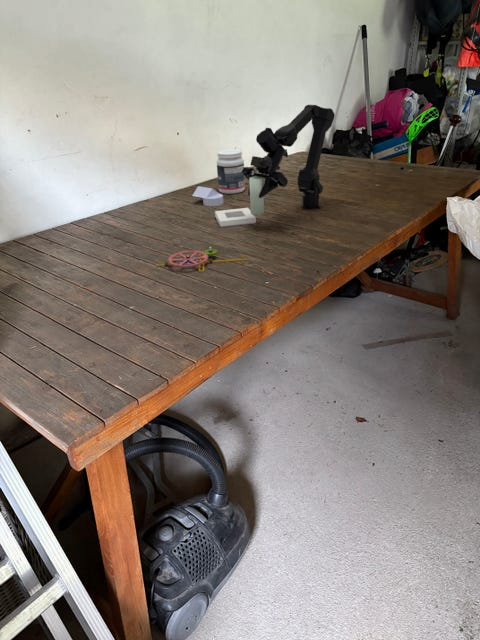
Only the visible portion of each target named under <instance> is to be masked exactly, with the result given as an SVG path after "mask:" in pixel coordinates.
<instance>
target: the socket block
mask: <svg viewBox="0 0 480 640" xmlns="http://www.w3.org/2000/svg"><path fill="white" fill-rule="evenodd" d="M214 216H215V220H216V222H217V223H218V225H219V227H220V228H228V227H236V226H244V225H245V226H247V225H253V224H254V225H255V224H256V223H257V222H256V221H257V218H256V215H253V214H251V208H250V207H243V208H242V207H241V208H235V209H234V208H233V209H225V210H224V209H223V210H215V211H214Z"/></svg>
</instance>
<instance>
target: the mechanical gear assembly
mask: <svg viewBox="0 0 480 640" xmlns="http://www.w3.org/2000/svg"><path fill="white" fill-rule="evenodd" d="M218 253H219V252H218V250H217V249H212V246H209V248H208V249H206V250H204V251H200V250H183V251H180V252H177V253H176V252H175V253H174V254H172V255H169V257H168V258H167V261H165V262H164V263H160V264H155V267H171V266H172V267H174V268H181V269H182V268H183V269H184V268H186V269H187V268H194V267H198V272H199V273H204V272H205V265H206V264H215V263H227V262H229V263H230V262H241V261H242V262H243V261H246V262H247V261H248V258H237V259H236V258H235V259H223V260H222V259H219V260H218V259H217V260H213V258H209V257H213V256H216V255H217V254H218ZM185 254H187V255H185ZM188 254H191V255H188ZM197 254H198V255H199V256H198V257H196V255H197ZM177 256H180V257H182V258H175V257H177ZM173 258H174V259H173ZM174 261H175V262H176V261H177V262H176V263H175V262H174ZM201 265H202V269H201Z"/></svg>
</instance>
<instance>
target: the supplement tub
mask: <svg viewBox="0 0 480 640" xmlns="http://www.w3.org/2000/svg"><path fill="white" fill-rule="evenodd" d="M242 156H243V151H242V150H241V149H223V150H222V149H221V150H219V151H218V152H217V157H218V158H217V160H216V173H217V174H216V175H217V187H218V192H219V193H221V194H227V195H232V194H239V193H240V194H241V192H244V190H245V189H246V183H245V181H246V180H245V178H246V177H245V176H244V175H243V174H242V173H241V172H242V170H243V168H244V167H245V161H244V158H243V157H242Z"/></svg>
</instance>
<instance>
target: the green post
mask: <svg viewBox="0 0 480 640" xmlns="http://www.w3.org/2000/svg"><path fill="white" fill-rule="evenodd" d="M248 181H249V183H250V196H249V201H250V204H249V205H250V206H249V208H250V211H251V214H253V215H254V216H260V215H264V214H265V206H264V205H265V204H264V203H265V201H264V198H265V195H264V196H263V197H262V198H259V194H260V192H261V190H262V188H263V186H264V179H263V177H251V178H249V180H248Z"/></svg>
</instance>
